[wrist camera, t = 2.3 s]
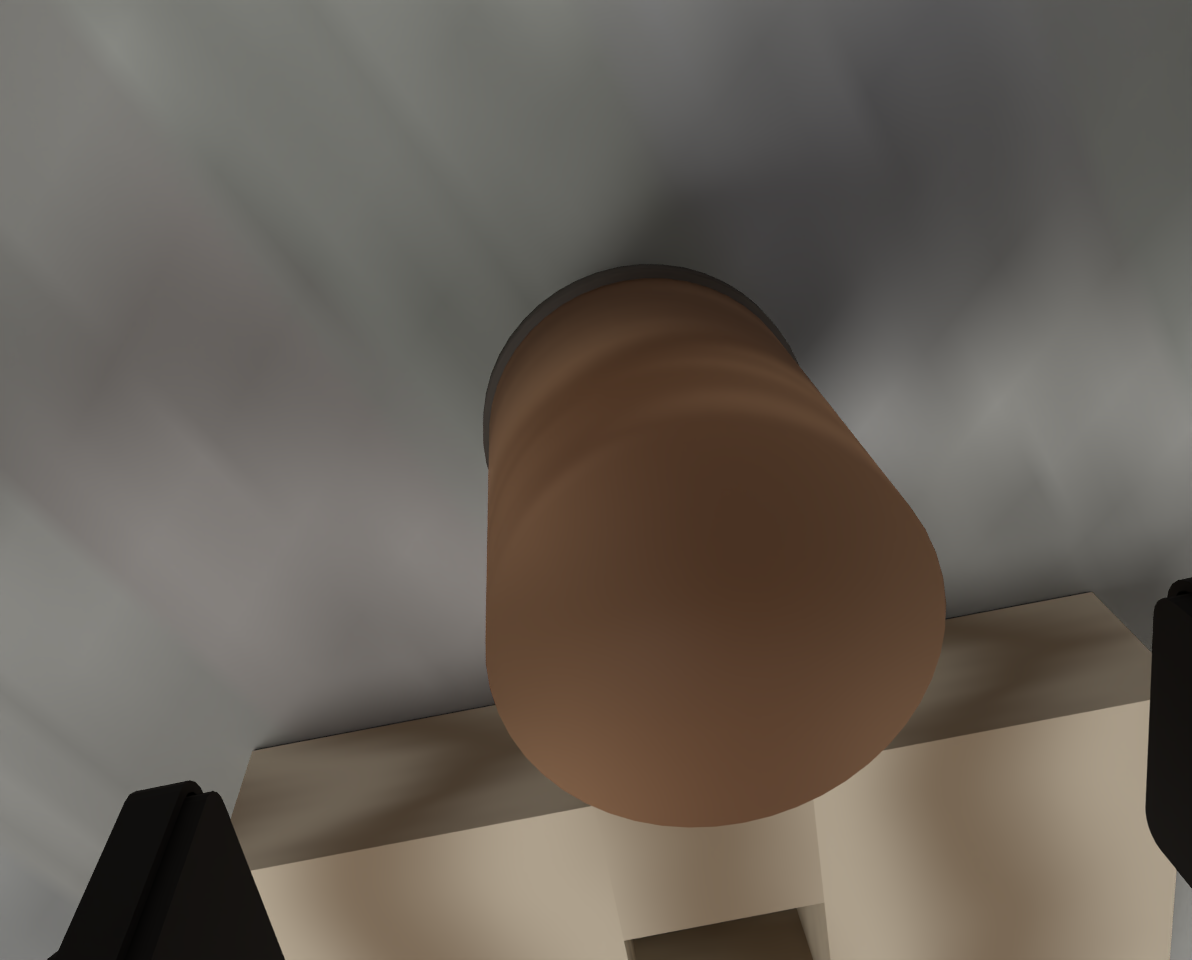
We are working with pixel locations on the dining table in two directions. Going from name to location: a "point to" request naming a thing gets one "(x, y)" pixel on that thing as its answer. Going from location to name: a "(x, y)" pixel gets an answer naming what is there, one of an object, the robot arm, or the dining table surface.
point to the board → (748, 832)
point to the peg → (692, 559)
